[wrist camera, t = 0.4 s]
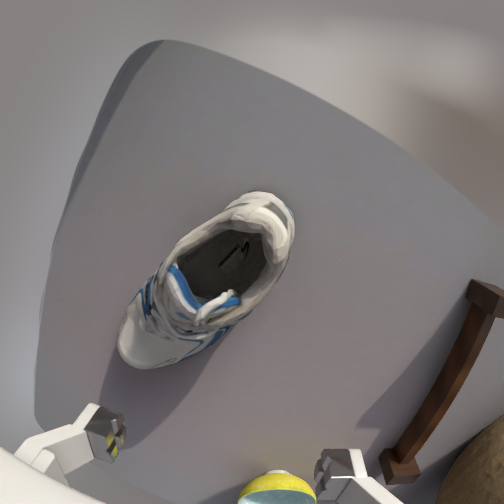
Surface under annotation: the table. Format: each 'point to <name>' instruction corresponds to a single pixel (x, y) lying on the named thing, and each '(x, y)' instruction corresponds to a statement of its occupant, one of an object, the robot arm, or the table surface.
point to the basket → (477, 470)
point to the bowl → (277, 490)
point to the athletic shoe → (208, 282)
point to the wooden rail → (445, 383)
